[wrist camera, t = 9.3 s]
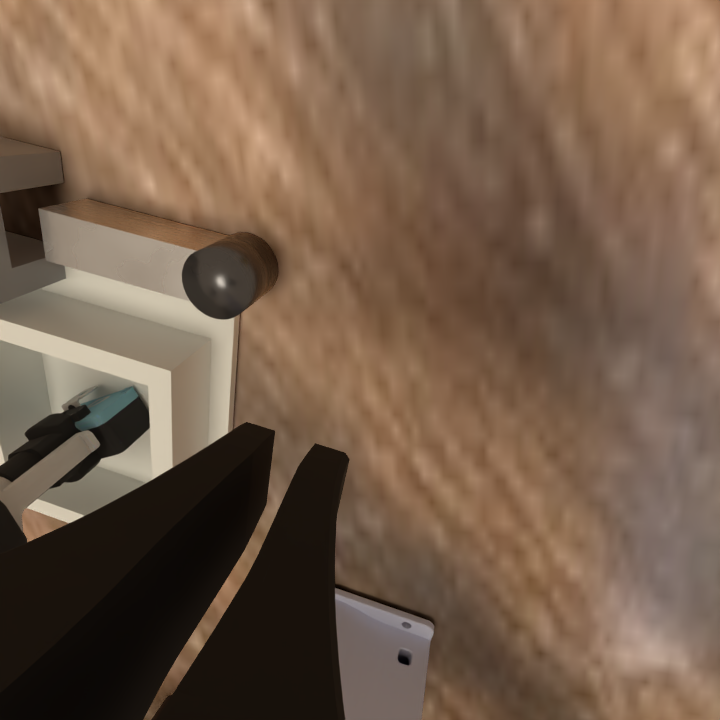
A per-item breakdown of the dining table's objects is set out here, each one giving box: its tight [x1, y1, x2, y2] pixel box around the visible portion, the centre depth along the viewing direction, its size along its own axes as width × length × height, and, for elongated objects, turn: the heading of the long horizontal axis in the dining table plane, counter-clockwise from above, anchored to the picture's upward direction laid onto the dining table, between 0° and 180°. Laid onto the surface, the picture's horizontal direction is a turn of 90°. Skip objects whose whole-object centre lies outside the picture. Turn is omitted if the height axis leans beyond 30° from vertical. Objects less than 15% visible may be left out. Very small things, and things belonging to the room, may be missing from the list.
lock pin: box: [38, 199, 278, 320], centre depth 18 cm, size 8×3×3 cm, turn 79°
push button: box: [0, 386, 150, 554], centre depth 20 cm, size 7×5×10 cm
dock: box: [0, 137, 240, 523], centre depth 22 cm, size 12×19×4 cm, turn 169°
